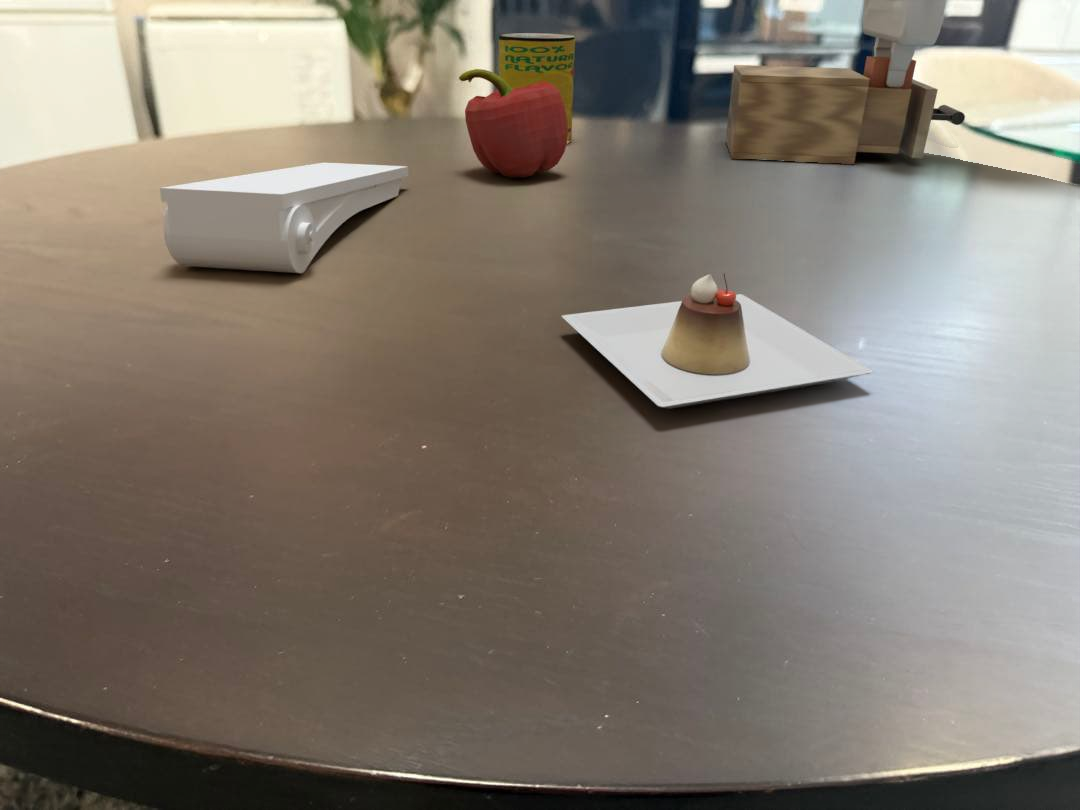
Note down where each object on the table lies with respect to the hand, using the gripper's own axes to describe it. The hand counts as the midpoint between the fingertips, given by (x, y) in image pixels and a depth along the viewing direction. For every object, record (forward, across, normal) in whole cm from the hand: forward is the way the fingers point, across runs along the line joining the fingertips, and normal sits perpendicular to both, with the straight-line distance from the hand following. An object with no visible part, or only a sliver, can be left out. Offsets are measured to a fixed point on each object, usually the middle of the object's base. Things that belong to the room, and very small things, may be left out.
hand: (886, 83), depth 95 cm
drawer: (+7, 0, 0) cm, 7 cm away
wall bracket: (+8, -42, +53) cm, 68 cm away
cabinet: (+8, 0, +10) cm, 13 cm away
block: (+2, 0, 0) cm, 2 cm away
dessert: (+8, -64, +22) cm, 68 cm away
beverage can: (+8, +1, +40) cm, 41 cm away
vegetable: (+8, -19, +40) cm, 45 cm away
